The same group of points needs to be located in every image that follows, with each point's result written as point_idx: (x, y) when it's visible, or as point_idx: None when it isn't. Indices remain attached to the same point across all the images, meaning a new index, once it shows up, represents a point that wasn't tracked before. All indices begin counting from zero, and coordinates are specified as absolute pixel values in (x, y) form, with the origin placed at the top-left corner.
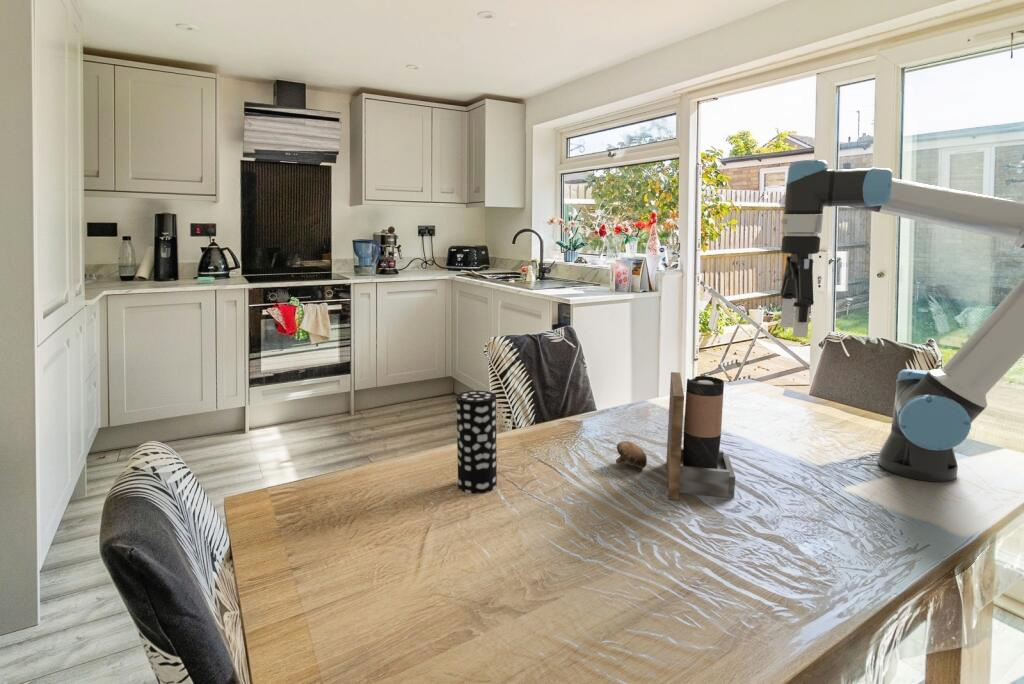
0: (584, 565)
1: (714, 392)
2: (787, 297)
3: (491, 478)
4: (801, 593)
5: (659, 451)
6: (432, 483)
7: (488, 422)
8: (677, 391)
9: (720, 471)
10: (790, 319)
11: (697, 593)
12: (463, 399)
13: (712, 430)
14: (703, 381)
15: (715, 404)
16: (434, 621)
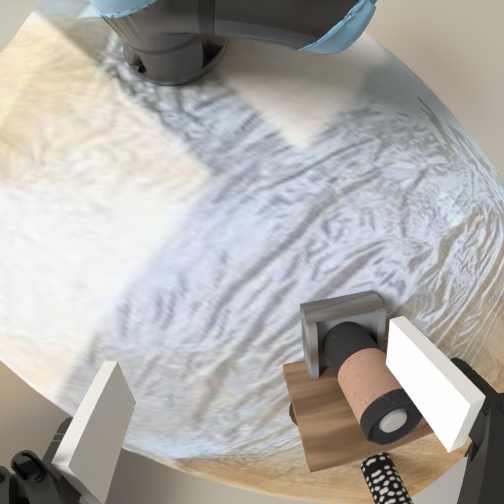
0: (476, 362)
1: None
2: (74, 494)
3: (386, 459)
4: (499, 230)
5: (244, 385)
6: None
7: (405, 493)
8: (429, 431)
9: (385, 320)
10: (112, 396)
11: (500, 295)
12: None
13: None
14: (395, 425)
15: None
16: (501, 390)
